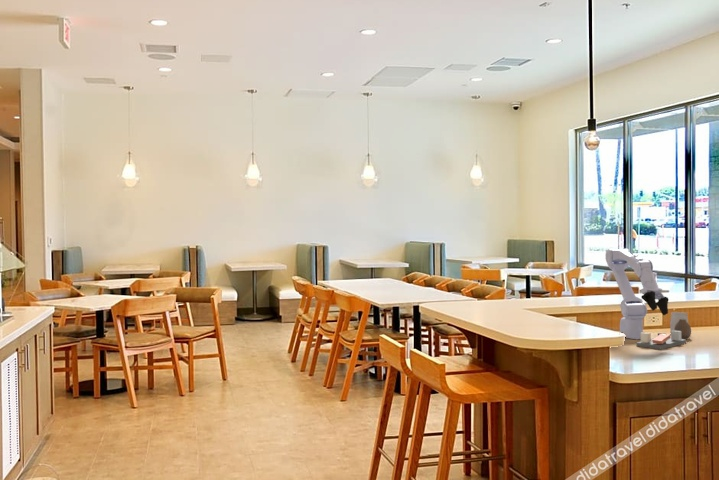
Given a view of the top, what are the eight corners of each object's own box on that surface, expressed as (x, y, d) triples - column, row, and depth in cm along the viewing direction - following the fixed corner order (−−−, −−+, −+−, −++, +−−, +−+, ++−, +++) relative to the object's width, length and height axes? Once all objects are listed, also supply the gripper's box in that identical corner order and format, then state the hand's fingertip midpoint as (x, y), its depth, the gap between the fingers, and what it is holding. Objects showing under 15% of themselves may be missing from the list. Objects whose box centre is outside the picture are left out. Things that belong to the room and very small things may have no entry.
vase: (688, 337, 315) (687, 317, 315) (693, 339, 308) (693, 320, 308) (671, 337, 316) (671, 318, 315) (677, 340, 309) (677, 320, 309)
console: (636, 346, 298) (636, 340, 298) (662, 339, 310) (662, 334, 310) (660, 349, 289) (660, 343, 289) (686, 343, 301) (686, 337, 301)
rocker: (652, 342, 294) (652, 339, 294) (661, 336, 298) (661, 333, 298) (661, 344, 291) (661, 340, 290) (670, 337, 295) (670, 334, 294)
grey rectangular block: (685, 335, 320) (685, 313, 320) (670, 334, 324) (670, 312, 324) (688, 334, 323) (688, 312, 322) (673, 332, 327) (672, 311, 327)
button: (656, 337, 308) (656, 333, 308) (660, 336, 310) (660, 332, 310) (663, 338, 305) (663, 334, 305) (668, 337, 307) (668, 333, 307)
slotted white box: (671, 339, 301) (671, 330, 301) (674, 339, 302) (674, 330, 302) (678, 340, 298) (678, 331, 298) (681, 339, 300) (681, 330, 300)
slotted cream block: (640, 341, 298) (640, 332, 298) (643, 341, 300) (643, 331, 300) (647, 342, 296) (647, 333, 296) (650, 341, 297) (650, 332, 297)
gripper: (647, 275, 296) (657, 302, 287) (667, 284, 303) (678, 311, 295) (633, 283, 300) (643, 310, 292) (654, 292, 307) (664, 319, 299)
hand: (660, 311), depth 294 cm, fingers open, 7 cm apart
